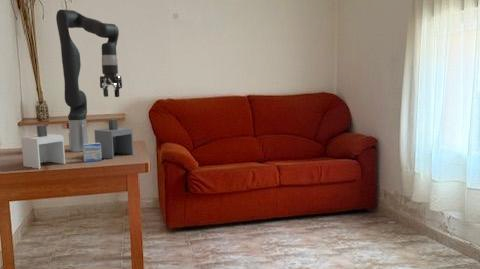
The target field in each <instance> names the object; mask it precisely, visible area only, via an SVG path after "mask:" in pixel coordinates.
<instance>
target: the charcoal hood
mask: <svg viewBox="0 0 480 269" xmlns="http://www.w3.org/2000/svg"><path fill="white" fill-rule="evenodd" d="M94 141H95V142H94V143H100V144H101V155H102V158H104V159H110V160H111V159H112V160H114V159H115V158H114V157H115V155H114V154H122V155H131V156H134V140H133V128H132V127H131V128H130V127H119V126H118V118H117V119H115V118H112V119H108V127H106V128H101V129H100V128H99V129H94Z"/></svg>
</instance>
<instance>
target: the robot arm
mask: <svg viewBox="0 0 480 269" xmlns="http://www.w3.org/2000/svg"><path fill="white" fill-rule="evenodd" d="M55 16H56V17H55V18H56V20H55V21H56V26H57V31H58V36H59V42H60V52H61V53H60V54H61V63H62V71H63V73H62V74H63V79H64V102H65V104H66V105H67V106H68V107H69V108H70V109H69V113H68V115H67V116H68V117H67V121H68V131H69V132H68V143H69V144H68V145H69V146H68V147H69V151H70V152H71V153H72V152H73V153H80V152H83V144H88V143H89V139H88V128H87V127H88V124H87V114H88V104H87V103H88V101H87V96H86V93H85V92H84V91H83V90H81V89H80V87H79V76H80V72H81V66H82V65H81V63H82V62H81V53H80V51H79V49H78V47H77V45H76V44H75V42H74V41H73V40H72V38H71V34H70V32H69V29H76V28H77V29H79V28H80V29H83V30H84V31H86V32H88V33H90V34H93V35H95V36H97V37H99V38H104V39H107V40H106V41H107V42H105V43H102V44H101V69H102V71H101V72H102V75H100V76H99V87H100V89H102V90H103V91H102V92H103V97H104V98H106V97H107V98H108V97H109V86H112V87H113V89H114V90H113V92H114V97H115V98H120V89H122V88H123V81H122V76H121V75H118V74H119V69H118V68H119V66H118V64H119V63H118V57H117V56H118V55H117V44H118V40H119V35H120V34H119V32H120V31H119V28H118V26H117V25H116V24H115V23H106V22H102V21H100V20H97V19H94V18H92V17H91V18H89V17H87V16H84V15H82V14H81V13H80V12H77V11H75V10H71V9H59V10H57V12H56V15H55Z"/></svg>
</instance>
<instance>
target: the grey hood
mask: <svg viewBox="0 0 480 269" xmlns="http://www.w3.org/2000/svg"><path fill="white" fill-rule="evenodd" d="M47 130H48V128H47V125H46V124H45V125H44V124H40V125H36V132H37V133H36V134H34V135H28V136H21V138H20V139H21V140H20V141H21V152H22V163H23V167H27V168H31V167H32V169H37V168H38V169H37V170H41V169H40V168H41V164H44V163H49V162H50V163H55V164H62V165H66V156H65V155H66V154H65V153H66V151H65V141H64V140H65V139H64V134H63V135H62V134H54V133H48V131H47ZM43 162H44V163H43Z"/></svg>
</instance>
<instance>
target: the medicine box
mask: <svg viewBox="0 0 480 269" xmlns="http://www.w3.org/2000/svg"><path fill="white" fill-rule="evenodd" d="M82 156H83V162H84V163H93V162H102V158H103V157H102V155H101V144H100V143H95V142H88V144H83V151H82Z"/></svg>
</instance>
